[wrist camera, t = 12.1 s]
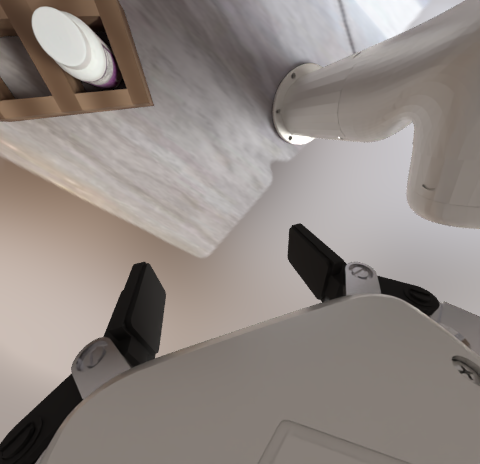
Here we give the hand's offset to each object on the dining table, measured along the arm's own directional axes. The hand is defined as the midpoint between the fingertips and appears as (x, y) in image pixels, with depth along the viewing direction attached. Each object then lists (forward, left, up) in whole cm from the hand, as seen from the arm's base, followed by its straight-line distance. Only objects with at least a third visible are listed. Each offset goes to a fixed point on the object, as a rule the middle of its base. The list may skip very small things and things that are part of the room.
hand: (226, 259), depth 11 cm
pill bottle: (+10, -16, -28) cm, 34 cm away
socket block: (+15, -16, -28) cm, 36 cm away
